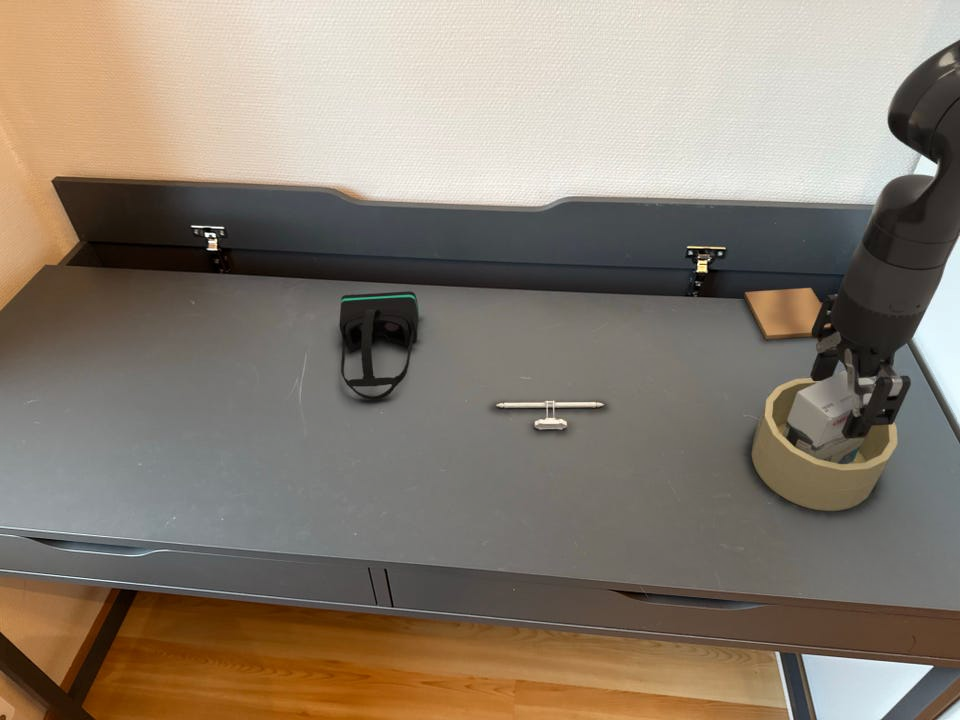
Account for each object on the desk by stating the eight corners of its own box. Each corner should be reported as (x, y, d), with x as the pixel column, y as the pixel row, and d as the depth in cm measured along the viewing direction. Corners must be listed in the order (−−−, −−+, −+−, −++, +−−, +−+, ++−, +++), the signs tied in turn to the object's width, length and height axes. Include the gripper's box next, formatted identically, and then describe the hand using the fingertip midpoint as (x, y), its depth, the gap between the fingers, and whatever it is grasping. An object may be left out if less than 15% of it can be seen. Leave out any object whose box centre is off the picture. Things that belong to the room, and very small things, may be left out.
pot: (844, 416, 88) (863, 374, 83) (895, 507, 79) (921, 465, 73) (736, 424, 89) (749, 381, 83) (774, 514, 79) (790, 473, 74)
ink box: (824, 433, 86) (853, 363, 78) (856, 461, 83) (890, 391, 75) (769, 459, 84) (794, 390, 76) (800, 489, 80) (830, 420, 72)
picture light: (603, 404, 92) (604, 393, 91) (606, 429, 89) (607, 418, 88) (496, 405, 93) (495, 394, 92) (495, 430, 90) (495, 419, 88)
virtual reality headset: (419, 317, 107) (411, 268, 99) (417, 407, 96) (408, 360, 88) (347, 321, 107) (333, 273, 99) (336, 411, 96) (320, 365, 88)
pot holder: (809, 291, 107) (810, 287, 106) (836, 334, 100) (838, 330, 99) (743, 296, 107) (744, 292, 106) (765, 339, 100) (767, 335, 99)
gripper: (968, 334, 60) (900, 454, 72) (891, 242, 71) (842, 359, 82) (881, 340, 61) (826, 459, 72) (817, 246, 71) (778, 363, 82)
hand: (835, 406), depth 77 cm, fingers open, 8 cm apart
